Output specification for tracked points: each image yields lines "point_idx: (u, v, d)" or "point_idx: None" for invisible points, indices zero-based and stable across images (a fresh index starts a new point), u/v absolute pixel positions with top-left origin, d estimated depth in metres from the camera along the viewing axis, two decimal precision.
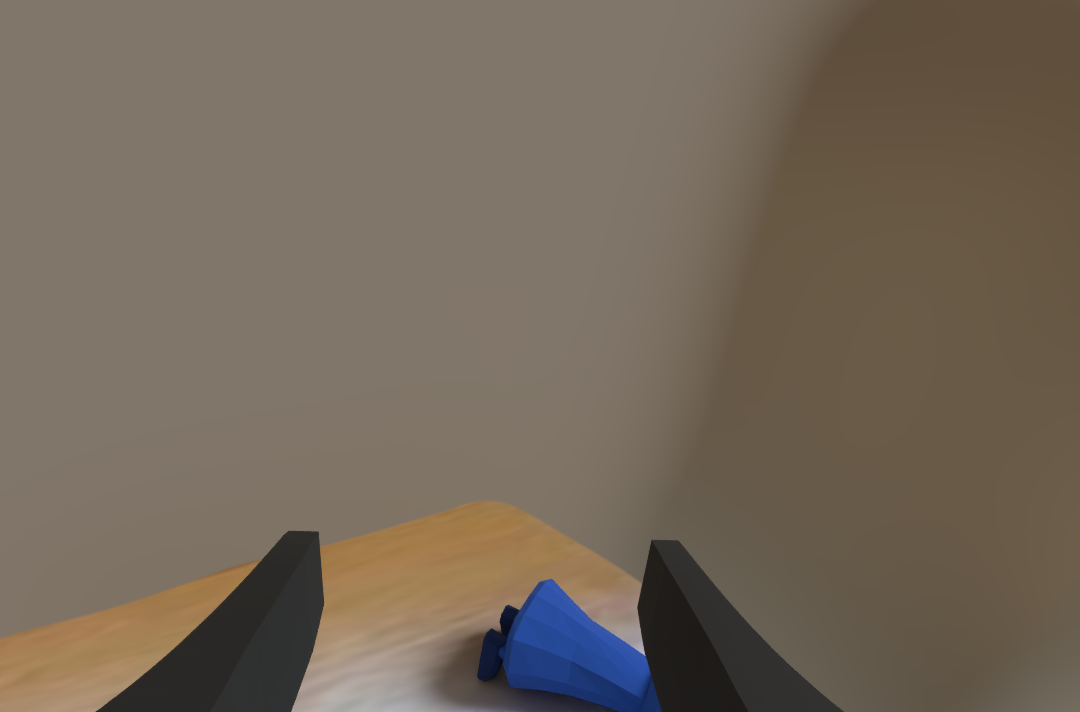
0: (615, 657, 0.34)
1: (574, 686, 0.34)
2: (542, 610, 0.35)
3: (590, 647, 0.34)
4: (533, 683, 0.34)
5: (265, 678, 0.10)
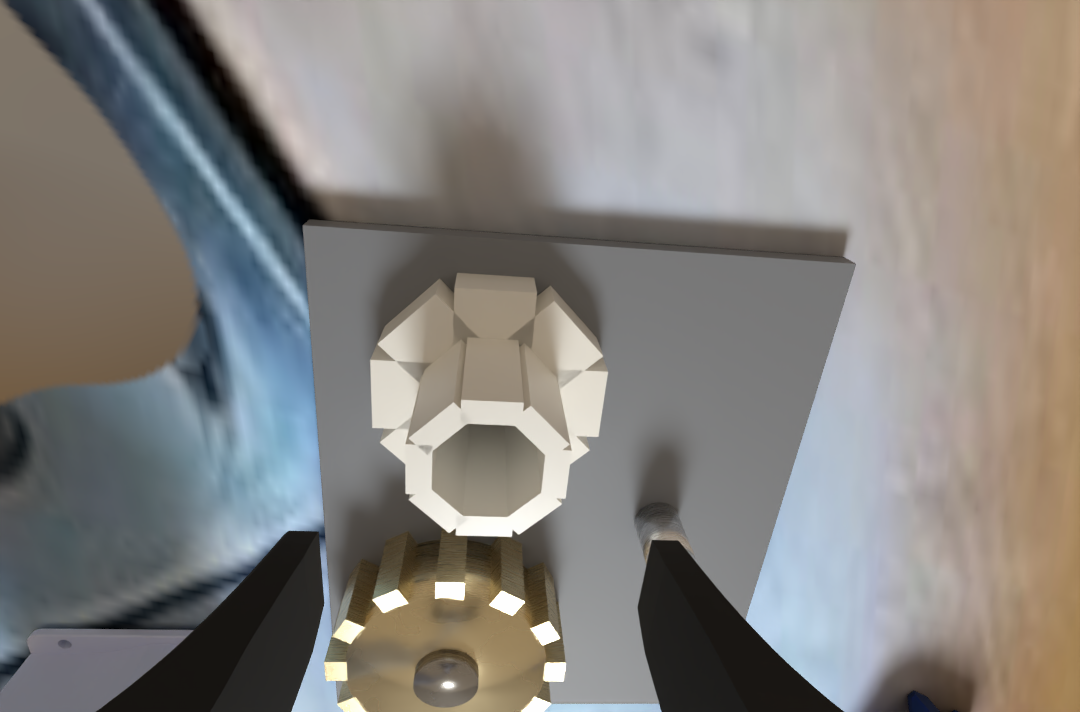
0: None
1: None
2: None
3: None
4: None
5: (265, 678, 0.10)
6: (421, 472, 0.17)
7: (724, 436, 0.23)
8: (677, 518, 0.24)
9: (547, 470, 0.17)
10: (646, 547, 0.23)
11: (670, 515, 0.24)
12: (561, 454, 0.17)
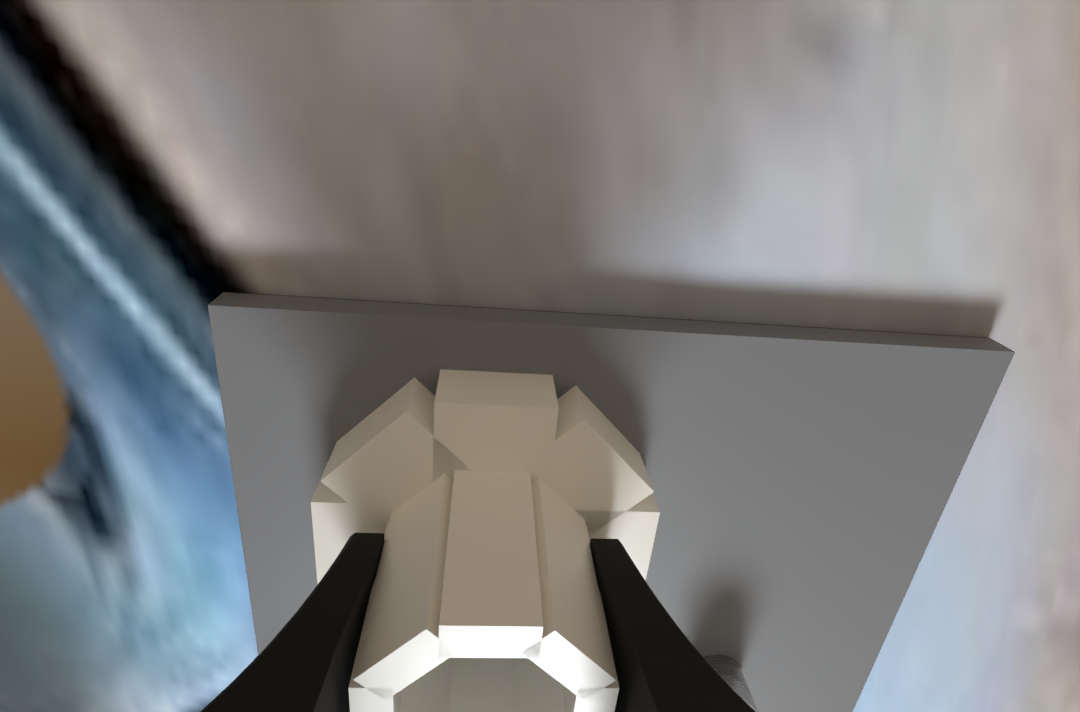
0: None
1: None
2: None
3: None
4: None
5: (347, 678, 0.10)
6: None
7: (809, 574, 0.17)
8: (742, 681, 0.18)
9: None
10: None
11: (734, 678, 0.18)
12: (601, 694, 0.10)
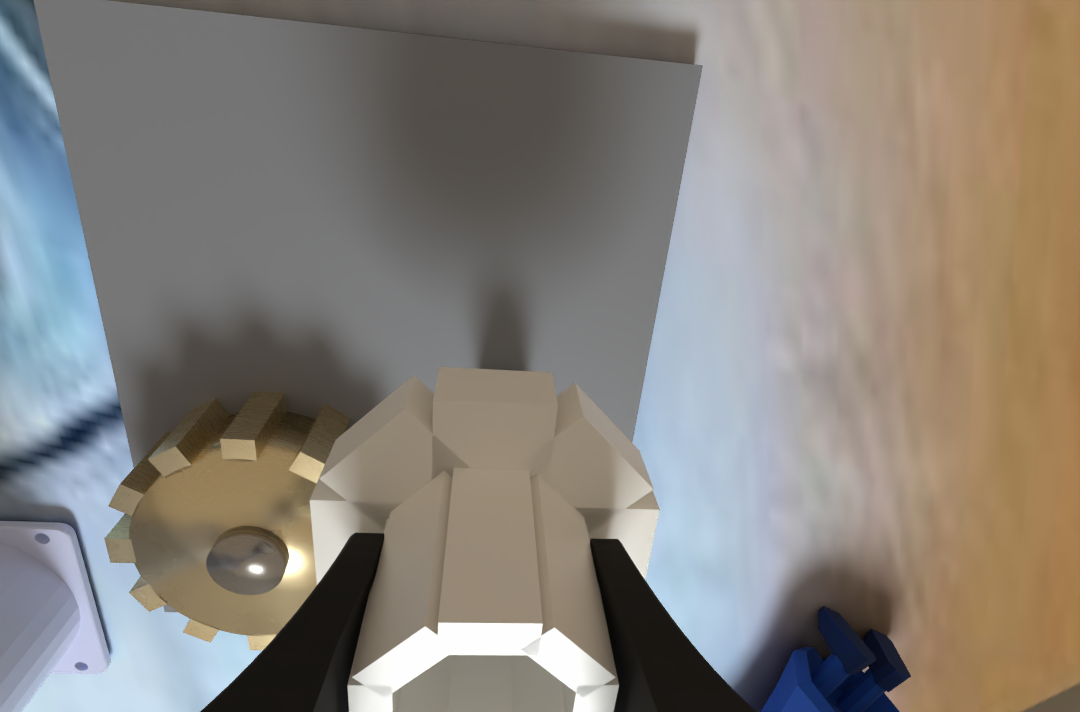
0: None
1: None
2: None
3: None
4: (782, 689, 0.28)
5: (346, 678, 0.10)
6: None
7: (570, 286, 0.20)
8: None
9: (579, 711, 0.11)
10: None
11: None
12: (601, 691, 0.10)
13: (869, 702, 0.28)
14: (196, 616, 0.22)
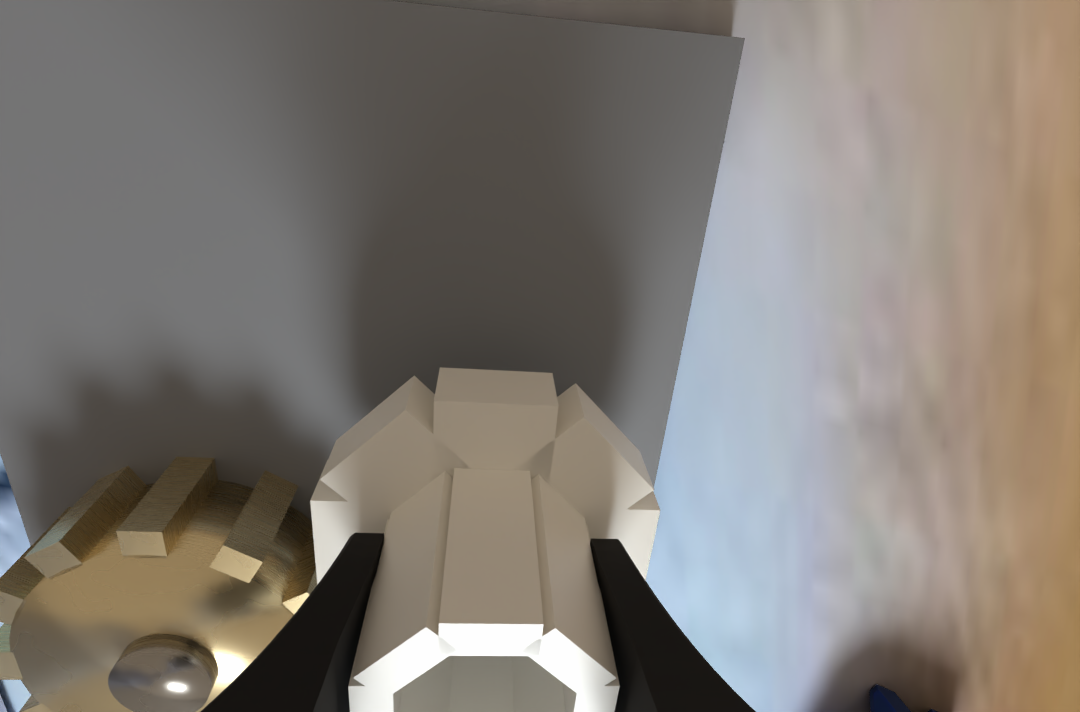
0: None
1: None
2: None
3: None
4: None
5: (346, 678, 0.10)
6: None
7: (571, 325, 0.16)
8: None
9: None
10: None
11: None
12: (602, 692, 0.10)
13: None
14: None
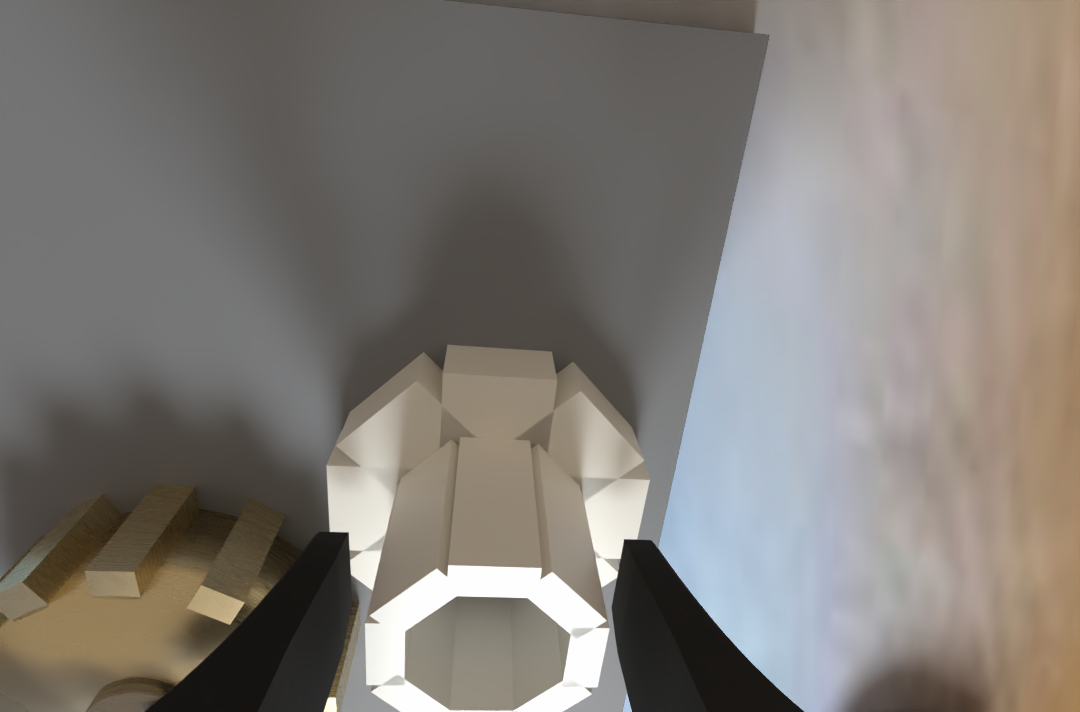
0: None
1: None
2: None
3: None
4: None
5: (303, 678, 0.10)
6: (389, 658, 0.11)
7: (578, 344, 0.15)
8: None
9: (573, 653, 0.12)
10: None
11: None
12: (594, 633, 0.11)
13: None
14: None
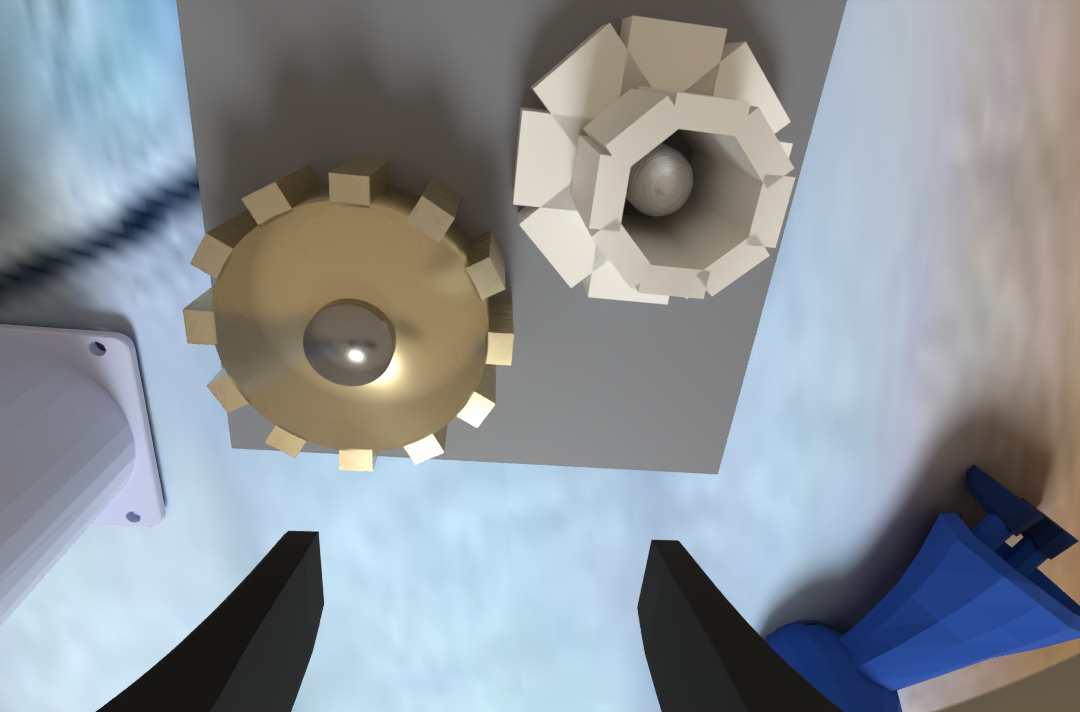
0: (921, 668, 0.25)
1: (904, 601, 0.25)
2: (1036, 626, 0.22)
3: (948, 651, 0.24)
4: (930, 553, 0.25)
5: (265, 678, 0.10)
6: (613, 197, 0.14)
7: (733, 25, 0.17)
8: None
9: (761, 205, 0.14)
10: None
11: None
12: (781, 183, 0.14)
13: (1026, 572, 0.25)
14: (282, 421, 0.18)
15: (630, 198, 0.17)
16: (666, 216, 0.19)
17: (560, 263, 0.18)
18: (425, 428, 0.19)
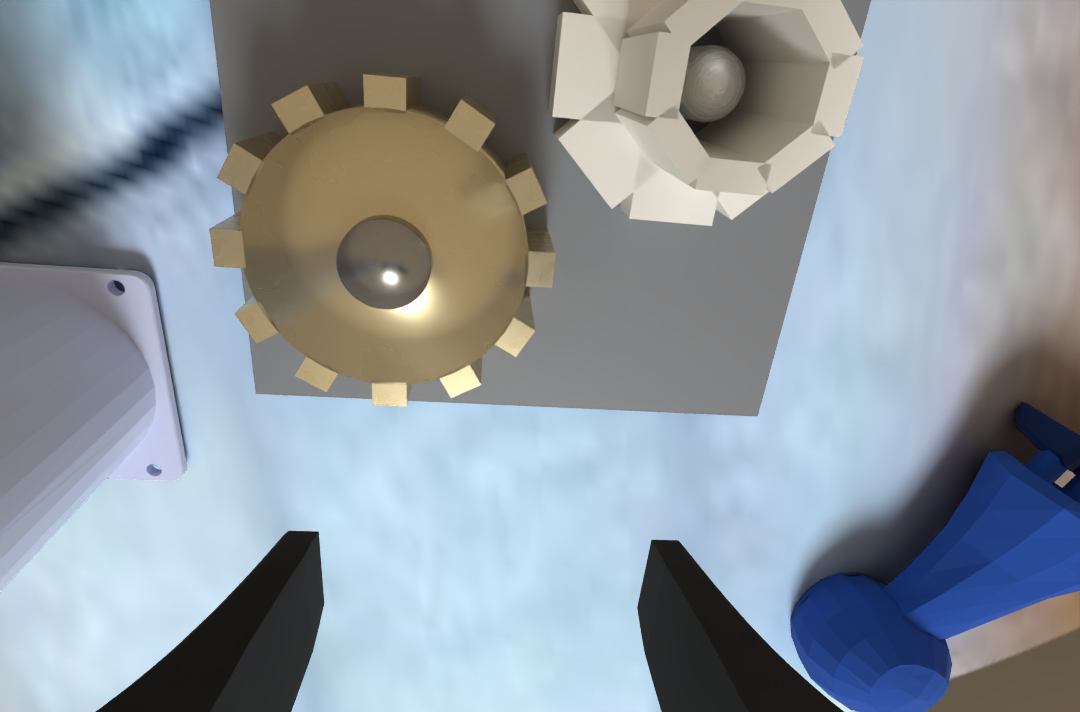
0: (973, 612, 0.24)
1: (954, 544, 0.24)
2: None
3: (1002, 592, 0.23)
4: (980, 492, 0.24)
5: (265, 678, 0.10)
6: (671, 80, 0.13)
7: None
8: None
9: (827, 88, 0.13)
10: None
11: None
12: (850, 63, 0.13)
13: None
14: (312, 352, 0.18)
15: None
16: (710, 131, 0.18)
17: (601, 181, 0.18)
18: (462, 358, 0.18)
